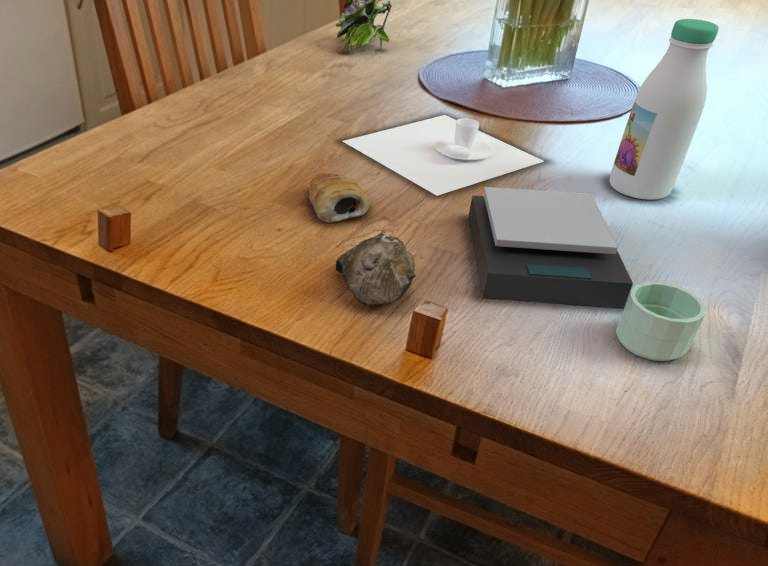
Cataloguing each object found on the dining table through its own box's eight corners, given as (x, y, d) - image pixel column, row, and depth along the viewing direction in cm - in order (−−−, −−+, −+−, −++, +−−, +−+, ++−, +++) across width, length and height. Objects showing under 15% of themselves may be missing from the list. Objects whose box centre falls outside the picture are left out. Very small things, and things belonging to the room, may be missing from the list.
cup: (673, 325, 70) (692, 284, 67) (695, 366, 65) (716, 324, 62) (607, 320, 70) (622, 279, 67) (623, 361, 65) (641, 318, 62)
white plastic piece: (458, 169, 96) (463, 139, 94) (418, 148, 102) (422, 120, 99) (504, 155, 100) (510, 126, 98) (463, 135, 105) (468, 108, 103)
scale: (587, 226, 85) (598, 190, 82) (623, 308, 72) (638, 269, 69) (467, 218, 86) (474, 182, 83) (482, 298, 73) (491, 259, 70)
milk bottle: (672, 181, 95) (734, 19, 82) (669, 206, 89) (736, 36, 77) (610, 170, 97) (662, 10, 84) (604, 193, 92) (658, 26, 79)
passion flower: (347, 70, 144) (360, 9, 144) (396, 69, 139) (409, 7, 138) (320, 47, 135) (333, -18, 134) (371, 45, 129) (385, -22, 128)
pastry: (297, 190, 91) (298, 162, 88) (347, 185, 92) (349, 157, 90) (320, 226, 84) (322, 196, 81) (374, 219, 85) (377, 189, 83)
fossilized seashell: (431, 296, 68) (415, 257, 77) (400, 239, 66) (388, 205, 74) (360, 331, 70) (353, 289, 79) (328, 277, 68) (324, 240, 76)
